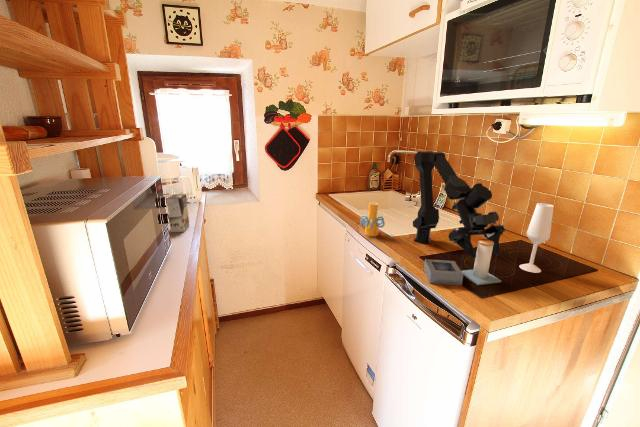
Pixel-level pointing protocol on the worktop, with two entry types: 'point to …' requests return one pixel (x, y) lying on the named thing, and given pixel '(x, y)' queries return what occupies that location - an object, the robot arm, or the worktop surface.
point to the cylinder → (372, 221)
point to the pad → (479, 281)
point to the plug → (483, 258)
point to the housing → (443, 272)
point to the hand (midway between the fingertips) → (486, 256)
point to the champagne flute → (538, 232)
